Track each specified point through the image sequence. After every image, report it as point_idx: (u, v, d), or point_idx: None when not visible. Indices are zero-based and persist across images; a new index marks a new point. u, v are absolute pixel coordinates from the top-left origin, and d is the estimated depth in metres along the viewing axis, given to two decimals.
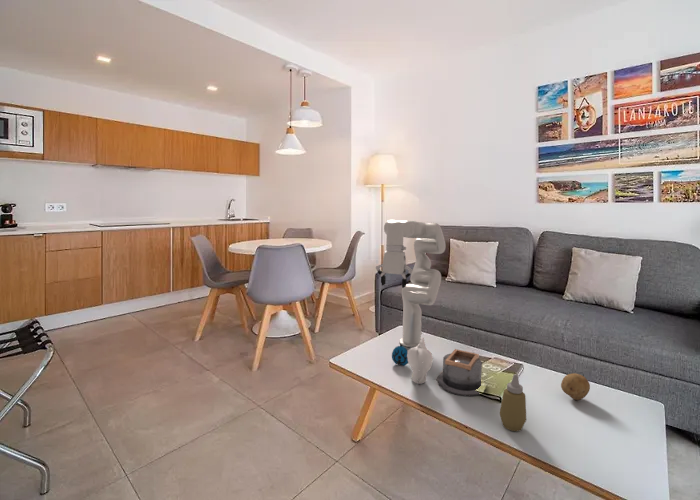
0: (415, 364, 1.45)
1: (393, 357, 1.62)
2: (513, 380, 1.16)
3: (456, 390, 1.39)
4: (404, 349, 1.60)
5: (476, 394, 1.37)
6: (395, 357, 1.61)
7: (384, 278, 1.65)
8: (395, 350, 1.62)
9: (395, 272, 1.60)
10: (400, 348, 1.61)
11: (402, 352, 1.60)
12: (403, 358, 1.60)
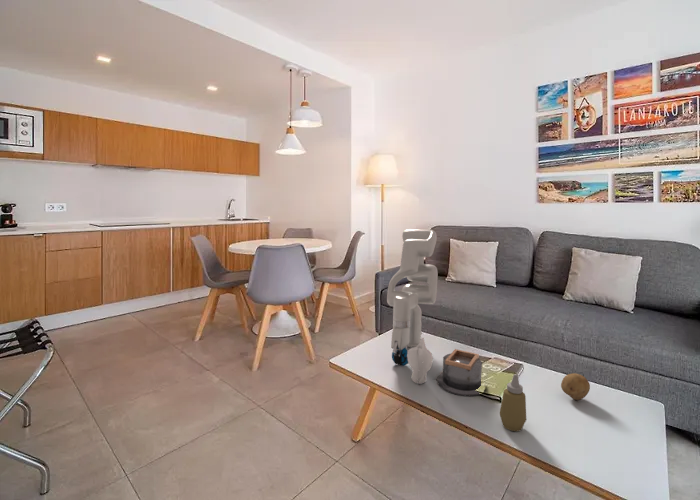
0: (415, 364, 1.45)
1: (393, 357, 1.62)
2: (513, 380, 1.16)
3: (456, 390, 1.39)
4: (404, 349, 1.60)
5: (476, 394, 1.37)
6: None
7: None
8: None
9: (406, 345, 1.61)
10: None
11: (402, 352, 1.60)
12: (403, 358, 1.60)
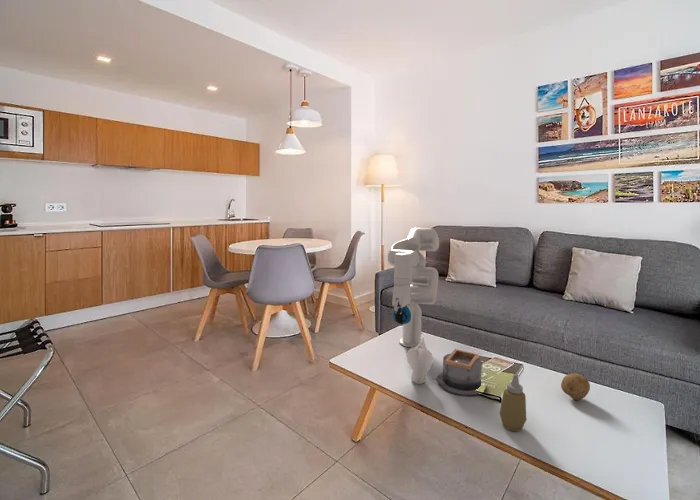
0: (415, 364, 1.45)
1: (394, 316, 1.60)
2: (513, 380, 1.16)
3: (456, 390, 1.39)
4: (405, 307, 1.58)
5: (476, 394, 1.37)
6: None
7: None
8: None
9: (407, 303, 1.59)
10: None
11: (403, 310, 1.58)
12: (404, 316, 1.58)
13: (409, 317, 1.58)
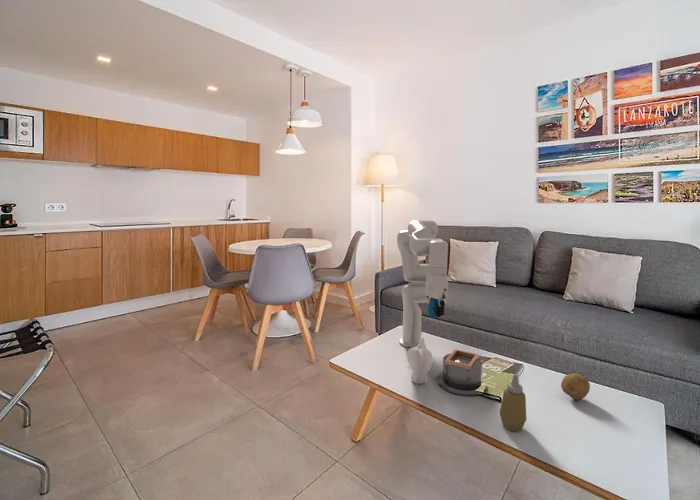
0: (415, 364, 1.45)
1: (433, 310, 1.46)
2: (513, 380, 1.16)
3: (456, 390, 1.39)
4: None
5: (476, 394, 1.37)
6: (436, 309, 1.47)
7: None
8: (434, 302, 1.47)
9: None
10: None
11: None
12: None
13: None
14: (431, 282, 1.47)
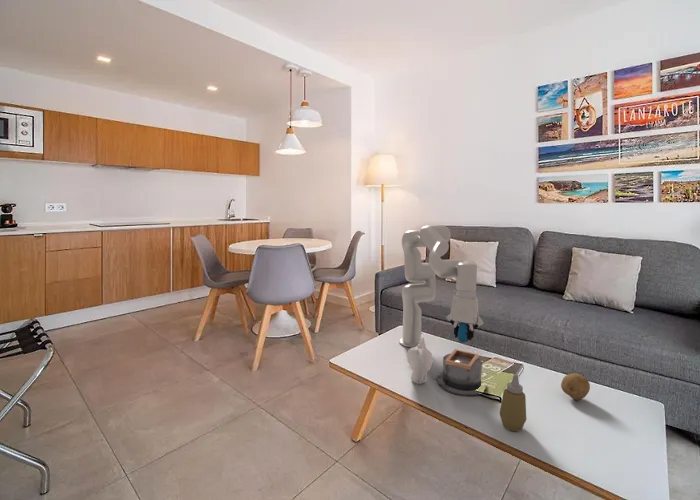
0: (415, 364, 1.45)
1: (466, 335, 1.40)
2: (513, 380, 1.16)
3: (456, 390, 1.39)
4: None
5: (476, 394, 1.37)
6: (468, 334, 1.41)
7: None
8: (466, 327, 1.40)
9: None
10: None
11: None
12: None
13: None
14: (462, 307, 1.40)
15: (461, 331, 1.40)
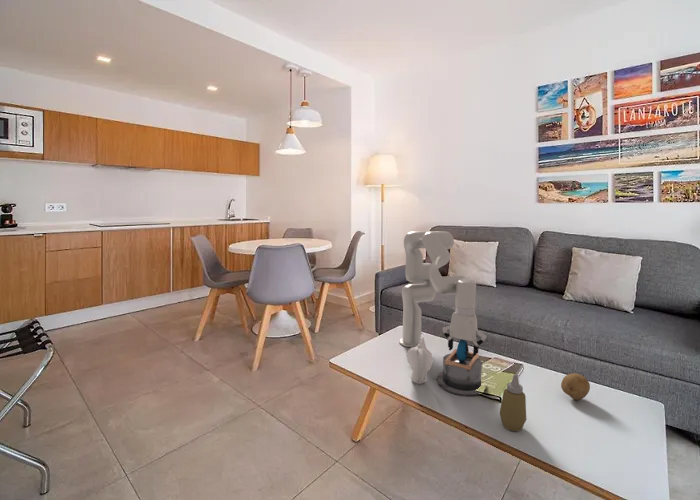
0: (415, 364, 1.45)
1: (465, 355, 1.41)
2: (513, 380, 1.16)
3: (456, 390, 1.39)
4: None
5: (476, 394, 1.37)
6: (466, 353, 1.42)
7: None
8: (464, 346, 1.42)
9: None
10: (465, 341, 1.43)
11: None
12: None
13: None
14: (461, 324, 1.41)
15: (460, 350, 1.41)
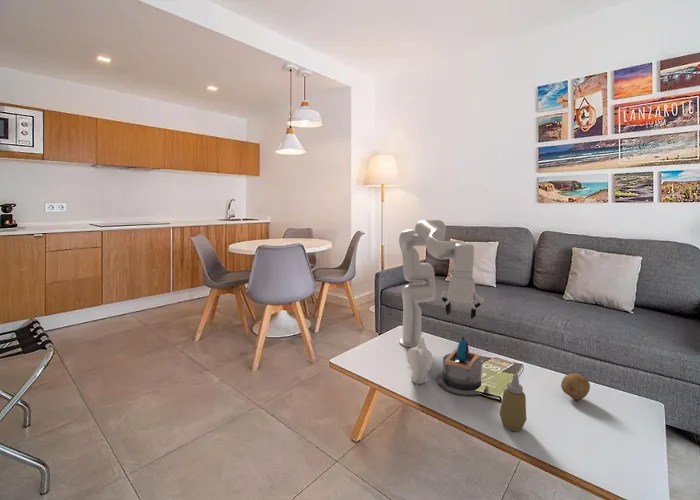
0: (415, 364, 1.45)
1: (465, 355, 1.41)
2: (513, 380, 1.16)
3: (456, 390, 1.39)
4: (465, 340, 1.45)
5: (476, 394, 1.37)
6: (466, 353, 1.42)
7: None
8: (464, 346, 1.42)
9: None
10: (465, 341, 1.43)
11: None
12: None
13: None
14: (459, 287, 1.41)
15: (460, 350, 1.41)
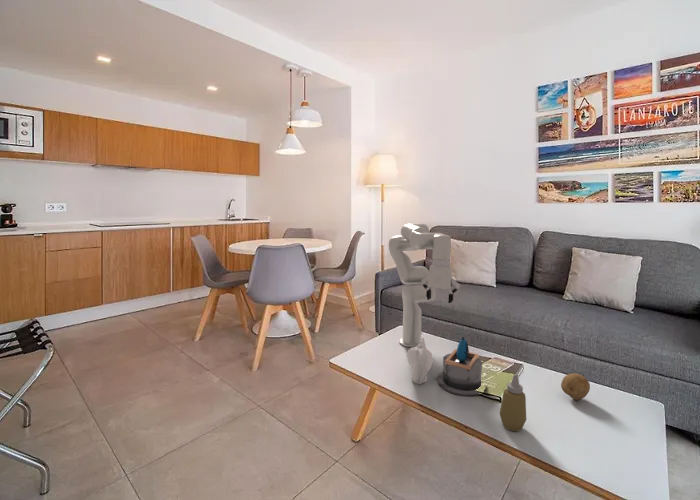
0: (415, 364, 1.45)
1: (465, 355, 1.41)
2: (513, 380, 1.16)
3: (456, 390, 1.39)
4: (465, 340, 1.45)
5: (476, 394, 1.37)
6: (466, 353, 1.42)
7: None
8: (464, 346, 1.42)
9: None
10: (465, 341, 1.43)
11: None
12: None
13: None
14: (438, 274, 1.55)
15: (460, 350, 1.41)
